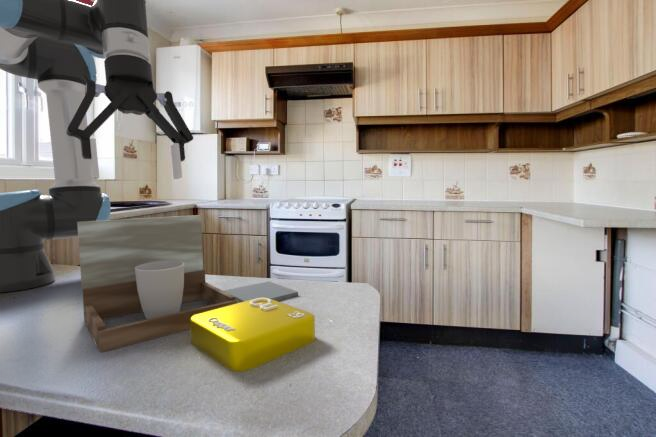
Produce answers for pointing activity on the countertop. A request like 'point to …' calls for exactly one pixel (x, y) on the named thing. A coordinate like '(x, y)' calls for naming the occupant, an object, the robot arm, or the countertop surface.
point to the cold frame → (120, 279)
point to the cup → (160, 287)
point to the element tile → (251, 332)
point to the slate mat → (262, 292)
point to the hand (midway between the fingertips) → (139, 178)
